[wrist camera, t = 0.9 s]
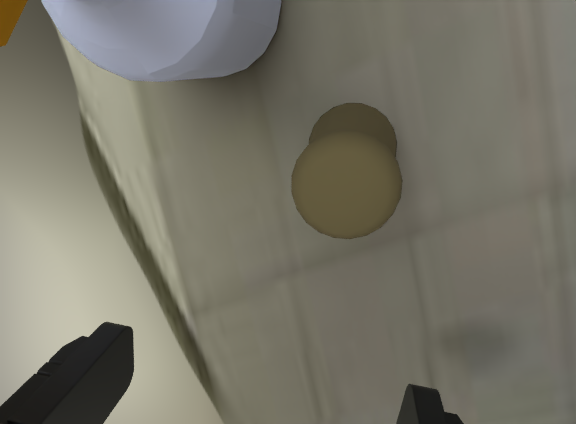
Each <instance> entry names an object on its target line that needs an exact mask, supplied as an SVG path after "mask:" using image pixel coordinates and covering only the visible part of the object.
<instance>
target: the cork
mask: <svg viewBox="0 0 576 424" xmlns="http://www.w3.org/2000/svg"><path fill="white" fill-rule="evenodd" d="M396 146H397V141H396V137H395V133H394V129H393V127H392V125H391V124H390V122H389V121H388V119H387V118H386V116H384V115H383V114H382V113H380V112H379V111H378V110H377V109H375V108H373V107H370V106H368V105H365V104H362V103H346V104H343V105H339V106H336V107H333V108H332V109H330V110H329V111H328V112H326V113H325V114H323V115H322V116H321V117H320V119H319V120H318V121H317V123H316V124H315V125H314V127H313V130H312V133H311V136H310V138H309V145H308V146H307V147H306V148H305V150H304V151H303V152H302V154H301V155H300V156H299V158H298V159H297V161H296V164H295V167H294V170H293V173H292V196H293V199H294V202H295V205H296V208H297V210H298V212H299V213H300V214H301V216H302V217H303V219H304V220H305V221H306V223H308V224H309V225H310V226H312V227H313V228H314V229H316V230H317V231H318V232H320V233H323V234H325V235H328V236H331V237H333V238H344V239H353V238H357V237H362V236H366V235H368V234H370V233H372V232H373V231H375V230H377V229H379V228H381V227H382V226H383V224H384V223H385V222H386V221H387V220H388V219H389V218H390V217H391V216H392V215H393V213H394V211H395V209H396V207H397V204H398V202H399V200H400V198H401V189H402V177H401V173H400V169H399V165H398V162H397V160H396V158H395V156H396Z"/></svg>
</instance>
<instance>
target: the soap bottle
mask: <svg viewBox="0 0 576 424" xmlns="http://www.w3.org/2000/svg"><path fill="white" fill-rule="evenodd" d="M27 1H28V0H0V46H5V45H6V44H7V42H8V40H9V38H10V36H11V33H12V31H13V29H14V27H15V25H16V23H17V21H18V19H19V17H20V15H21V13H22V11H23V9H24V7H25V5H26V2H27ZM42 3H43V5H44V7H45V8H46V10H47V12H48V13H49V15H50V16H51V18H52V20H53V21H54V23H55V25H56V26H57V28H58V29H59V31H60V33H61V34H62V36H63V37H64V38H65V39H66V40H67V41H69V42H70V43H71V44H72V45H73V46H74V47H75V48H76V49H77V50H78V51H80V52H81V53H82V54H83V55H84V56H85V57H86V58H87V59H88V60H90V61H91V62H93V63H94V64H96V65H97V66H99V67H101V68H103V69H105V70H107V71H110V72H112V73H114V74H116V75H119V76H121V77H123V78H126V79H128V80H133V81H155V82H164V81H176V80H188V79H200V78H212V77H224V76H228V75H230V74H233V73H236V72H239V71H242V70H244V69H247V68H248V67H249V66H250V65H251V64H252V63H253V62H254V61H256V60H257V59H258V58H259V57H260V56H261V55H262V54H264V52H265V50H266V49H267V47H268V45H269V43H270V41H271V39H272V38H273V36H274V34H275V32H276V30H277V25H278V19H279V13H280V8H281V0H42Z"/></svg>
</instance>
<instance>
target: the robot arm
mask: <svg viewBox="0 0 576 424" xmlns="http://www.w3.org/2000/svg"><path fill="white" fill-rule="evenodd" d="M133 352H134V350H133V330H132V328H131V327H129V326H124V325H119V324H114V323H109V322H104V323H103V324H101V325H100V326H99V327H98V328H97V329H96V330H95V331H94V332H93V333H92V334H91V335H90V336H89V337H85V336H81V337H79V338H78V339H76V340H74V341H72V342H70V343H68V344H67V345H65V346H63V347H62V348H61V349H60V350H59V351H58V352H57V353H56V354H55V355H54V356H53V357H52V358H51V359H50V360H49V362H46V363H45V364H44V365H43V366H42V367H41V368H40V369H39V370H38V372H37V374H34V375H33V376H32V377H31V378H30V379H29V380H28V381H26V382H25V383H24V384H23V385H22V386H21V387H20V388H19V389H18V390H17V391H16V392H15V393H14V394H13V395H12V396H11V397H10V398H9V399H8V400H7V401H5V402H4V403H3V404H2V405H1V406H0V424H103V423H104V421H105V420H106V419H107V417H108V416H109V414H110V413H111V412H112V410H113V409H114V407H115V406H116V404H117V403H118V402H119V400H120V399H121V398H122V396H123V395H124V393H125V392H126V390H127V389H128V387H129V385H130V382H131V380H132V376H133V372H134V353H133ZM396 424H464V423H463V422H462V421H461V419H460V418H459V417H458V415H457V414H452V413H447V412H444V409H443V405H442V401H441V398H440V394H439V392H438V390H437V389H432V388H427V387H422V386H418V385H413V384H408V386H407V388H406V391H405V395H404V398H403V402H402V405H401V409H400V412H399V416H398V419H397V423H396Z"/></svg>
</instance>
